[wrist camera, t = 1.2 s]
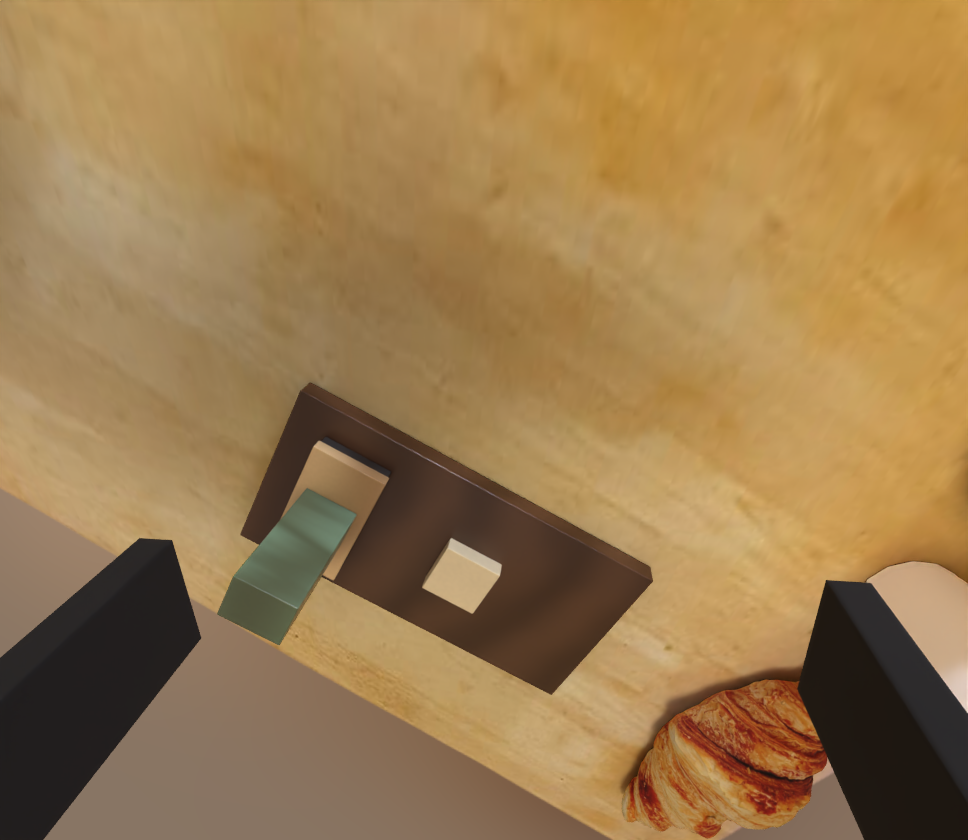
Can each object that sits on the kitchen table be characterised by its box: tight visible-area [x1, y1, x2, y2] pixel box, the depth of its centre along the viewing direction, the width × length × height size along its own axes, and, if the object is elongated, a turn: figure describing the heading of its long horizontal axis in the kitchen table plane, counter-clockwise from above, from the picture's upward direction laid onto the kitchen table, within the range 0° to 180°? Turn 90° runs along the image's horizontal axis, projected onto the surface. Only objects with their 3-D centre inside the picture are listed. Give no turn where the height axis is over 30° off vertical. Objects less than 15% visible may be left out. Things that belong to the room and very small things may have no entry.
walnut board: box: [240, 383, 653, 695], centre depth 40 cm, size 26×13×2 cm, turn 62°
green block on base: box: [217, 437, 391, 645], centre depth 33 cm, size 5×9×10 cm, turn 152°
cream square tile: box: [422, 538, 502, 614], centre depth 39 cm, size 4×4×1 cm
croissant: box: [622, 679, 827, 838], centre depth 41 cm, size 21×10×8 cm, turn 143°
